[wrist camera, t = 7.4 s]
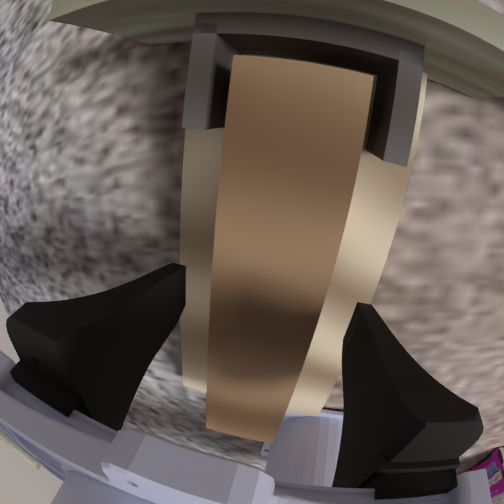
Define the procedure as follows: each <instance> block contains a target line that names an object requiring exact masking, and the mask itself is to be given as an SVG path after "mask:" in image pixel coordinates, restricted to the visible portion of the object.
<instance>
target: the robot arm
mask: <svg viewBox="0 0 504 504" xmlns="http://www.w3.org/2000/svg"><path fill="white" fill-rule="evenodd" d="M185 306H186V266H185V265H180V264H176V263H171V264H169V265H166V266H164V267H162V268H159V269H157V270H155V271H153V272H151V273H149V274H146V275H144V276H142V277H140V278H138V279H135V280H133V281H130V282H128V283H126V284H123V285H121V286H118V287H115V288H113V289H110V290H107V291H103V292H100V293H97V294H93V295H88V296H84V297H79V298H75V299H68V300H61V301H51V302H26V303H25V304H24V305H22V306H21V307H20V308H19V309H18V310H17V311H16V312H15V313H13V314H12V315H11V316H10V317H9V318H8V319H7V323H6V327H7V332H8V334H9V337H10V339H11V341H12V344H13V346H14V348H15V350H16V352H17V354H18V356H19V358H20V361H19V362H18V363H17V364H15V363H14V362H13V360H12V359H11V358H9V357H8V356H7V355H6V354H4V353H3V352H2V351H0V431H1V432H2V433H3V434H4V435H6V436H7V437H8V438H9V439H10V440H11V441H12V442H13V443H15V444H16V445H17V446H18V447H19V448H20V449H22V450H23V451H24V452H25V453H26V454H28V455H29V456H30V457H31V458H33V459H34V460H35V461H36V462H38V463H39V464H40V465H42V466H43V467H44V468H46V469H47V470H49V471H50V472H51V473H52V474H54V475H55V476H56V477H58V478H59V479H61V480H62V481H64V482H63V484H62V486H61V487H60V489H59V491H58V492H57V494H56V496H55V497H54V499H53V501H52V502H51V504H492V503H491V496H490V489H489V483H488V478H487V472H486V469H479V470H474V471H468V472H464V473H461V474H459V475H457V476H456V470H455V469H456V468H458V467H459V465H460V463H459V457H460V456H461V455H462V454H463V453H464V452H466V451H467V450H468V449H469V448H470V447H471V446H472V445H473V444H474V443H475V442H476V441H477V440H478V439H479V438H480V436H481V434H482V432H483V428H484V427H483V423H482V420H481V416H480V413H479V410H478V408H477V407H476V406H474V405H472V404H470V403H469V402H467V401H465V400H463V399H462V398H460V397H458V396H457V395H455V394H454V393H452V392H451V391H450V390H448V389H447V388H445V387H444V386H443V385H441V384H440V383H439V382H438V381H437V380H435V379H434V378H433V377H432V376H431V375H429V374H428V373H427V372H426V371H425V370H424V369H423V368H422V367H421V366H420V365H419V364H418V363H417V362H416V361H415V360H414V359H413V358H412V357H411V356H410V355H409V353H408V352H407V351H406V350H405V349H404V348H403V346H402V345H401V344H400V343H399V341H398V340H397V339H396V338H395V336H394V335H393V334H392V332H391V331H390V330H389V328H388V327H387V325H386V324H385V323H384V321H383V320H382V318H381V317H380V316H379V314H378V313H377V311H376V310H375V309H374V307H373V306H372V305H371V304H366V303H361V302H357V304H356V307H355V310H354V312H353V315H352V317H351V320H350V323H349V325H348V328H347V330H346V333H345V335H344V338H343V345H342V378H343V397H344V412H340V411H332V410H325V409H322V410H321V412H320V413H319V415H318V417H317V416H310V415H304V414H298V413H292V412H287V411H286V413H285V415H284V418H283V420H282V423H281V425H280V427H279V430H278V432H277V435H276V437H275V439H274V442H273V444H270V443H265V442H264V444H263V447H262V449H261V453H260V454H261V455H262V456H264V457H268V460H267V465H266V469H265V471H263V470H262V469H260V468H258V467H255V466H252V465H249V464H246V463H243V462H240V461H236V460H232V459H228V458H224V457H220V456H216V455H213V454H209V453H206V452H202V451H199V450H196V449H192V448H189V447H186V446H183V445H180V444H177V443H174V442H171V441H169V440H166V439H163V438H160V437H158V436H155V435H153V434H150V433H147V432H143V431H140V430H137V429H133V428H132V429H123V430H121V428H122V426H123V423H124V420H125V417H126V415H127V412H128V410H129V407H130V405H131V402H132V400H133V398H134V396H135V393H136V391H137V389H138V387H139V385H140V382H141V380H142V378H143V376H144V374H145V372H146V370H147V368H148V366H149V365H150V363H151V361H152V360H153V358H154V357H155V355H156V354H157V352H158V351H159V349H160V348H161V346H162V345H163V343H164V342H165V340H166V339H167V337H168V336H169V334H170V333H171V331H172V330H173V329H174V327H175V325H176V324H177V322H178V320H179V318H180V316H181V314H182V312H183V310H184V308H185Z"/></svg>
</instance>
